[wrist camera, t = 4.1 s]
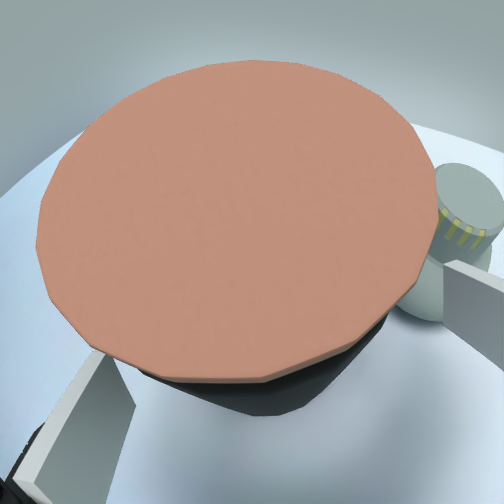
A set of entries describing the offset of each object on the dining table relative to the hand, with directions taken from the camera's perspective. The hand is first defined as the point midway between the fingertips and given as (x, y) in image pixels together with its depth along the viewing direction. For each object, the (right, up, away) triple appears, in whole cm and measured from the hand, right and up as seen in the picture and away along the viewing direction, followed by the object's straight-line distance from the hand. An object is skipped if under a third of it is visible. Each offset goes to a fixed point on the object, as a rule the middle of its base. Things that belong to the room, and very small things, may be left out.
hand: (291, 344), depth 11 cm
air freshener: (+13, +2, +14) cm, 19 cm away
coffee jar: (0, -4, +12) cm, 13 cm away
